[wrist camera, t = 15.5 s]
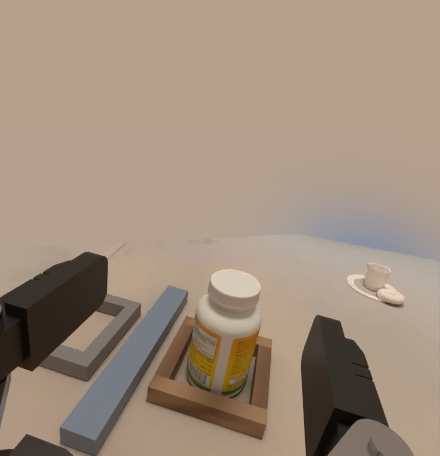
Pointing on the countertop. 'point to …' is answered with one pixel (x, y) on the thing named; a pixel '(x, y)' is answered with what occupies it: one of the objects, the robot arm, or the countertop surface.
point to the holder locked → (207, 401)
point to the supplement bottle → (225, 333)
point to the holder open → (96, 341)
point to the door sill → (121, 376)
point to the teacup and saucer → (377, 284)
